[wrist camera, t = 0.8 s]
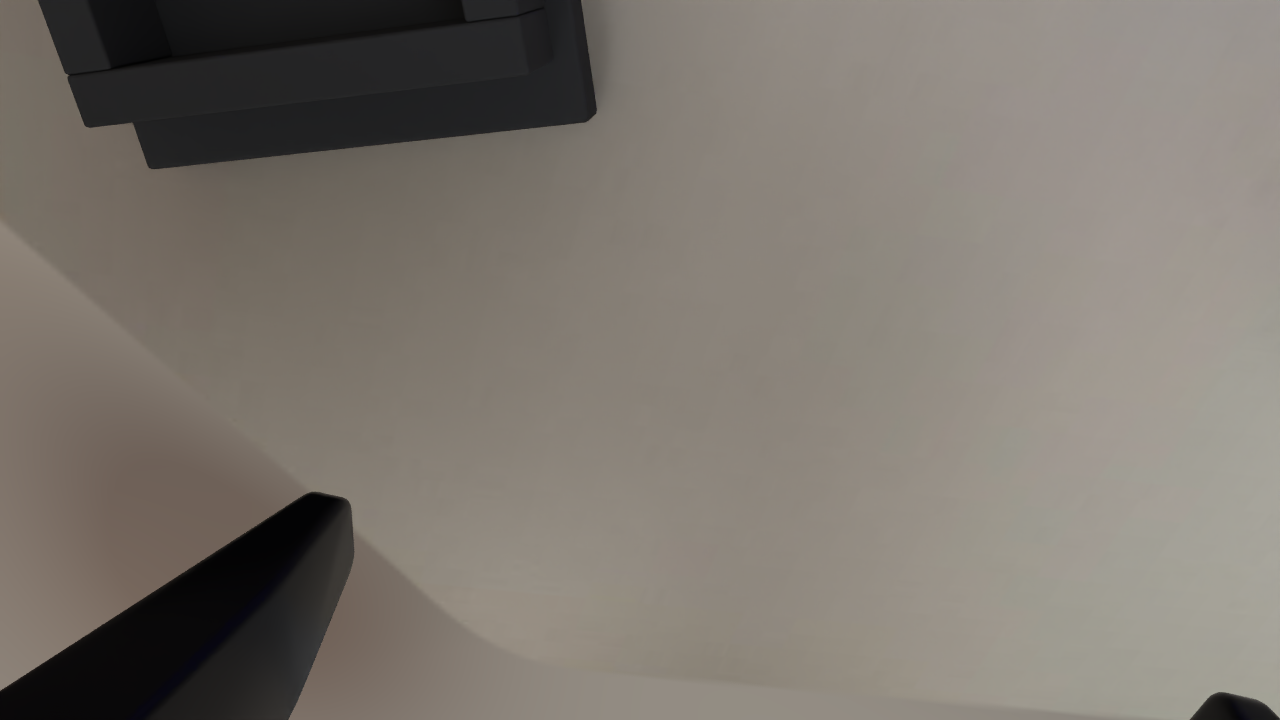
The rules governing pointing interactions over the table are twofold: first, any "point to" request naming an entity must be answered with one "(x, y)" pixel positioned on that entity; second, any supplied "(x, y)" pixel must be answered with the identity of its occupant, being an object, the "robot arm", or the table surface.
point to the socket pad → (319, 71)
